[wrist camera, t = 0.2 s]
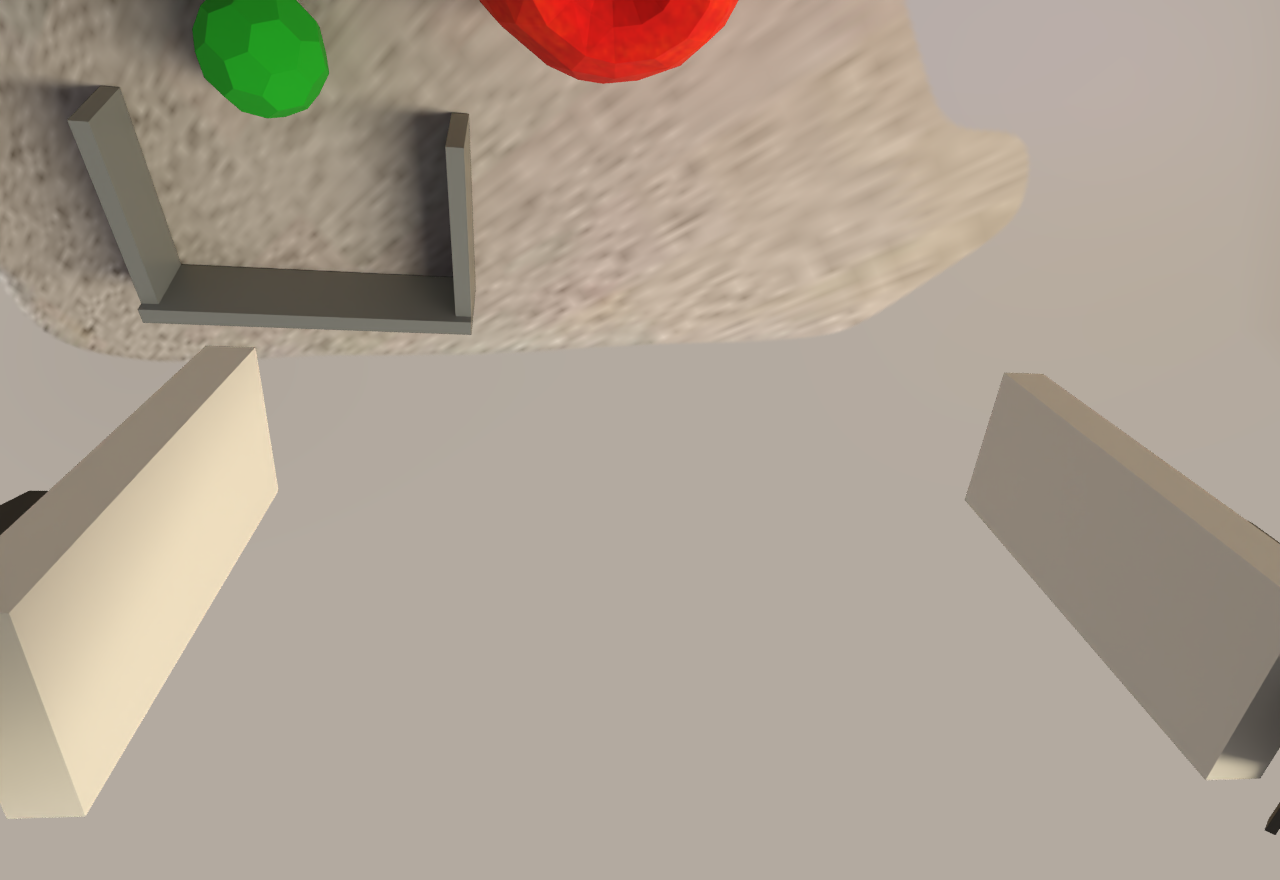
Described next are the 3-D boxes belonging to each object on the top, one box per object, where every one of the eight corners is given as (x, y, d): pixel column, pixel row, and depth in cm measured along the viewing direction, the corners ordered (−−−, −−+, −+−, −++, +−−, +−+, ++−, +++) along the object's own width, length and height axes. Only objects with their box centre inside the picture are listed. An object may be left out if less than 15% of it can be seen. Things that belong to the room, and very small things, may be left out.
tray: (100, 86, 35) (62, 125, 32) (468, 114, 37) (463, 153, 34) (169, 276, 42) (143, 322, 39) (475, 290, 44) (471, 334, 41)
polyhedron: (236, -62, 31) (200, -26, 28) (355, 16, 34) (335, 58, 30) (198, 46, 34) (161, 91, 31) (311, 111, 36) (288, 159, 33)
